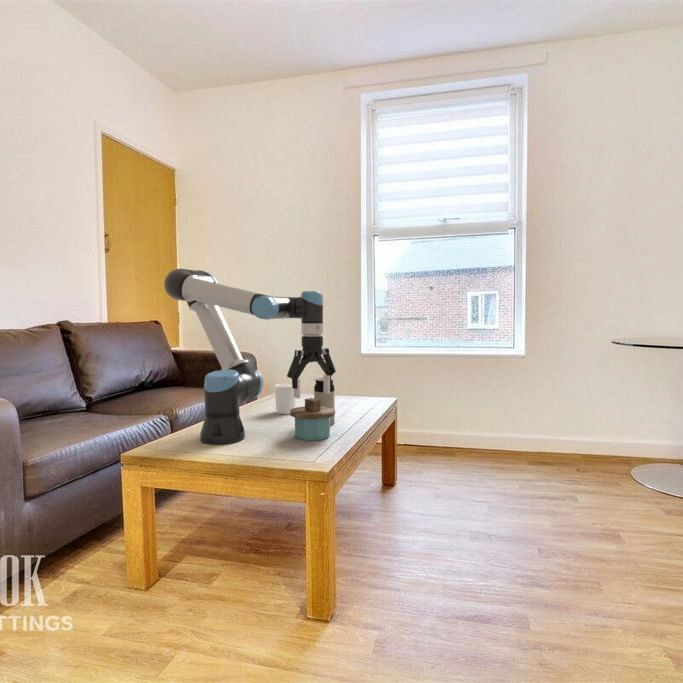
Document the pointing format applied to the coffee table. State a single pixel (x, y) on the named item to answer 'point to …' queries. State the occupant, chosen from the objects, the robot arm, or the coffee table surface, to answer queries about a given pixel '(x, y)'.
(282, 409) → the candle holder
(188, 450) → the coffee table surface
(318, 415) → the lid
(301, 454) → the coffee table surface
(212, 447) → the coffee table surface
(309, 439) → the bowl
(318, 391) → the travel mug
